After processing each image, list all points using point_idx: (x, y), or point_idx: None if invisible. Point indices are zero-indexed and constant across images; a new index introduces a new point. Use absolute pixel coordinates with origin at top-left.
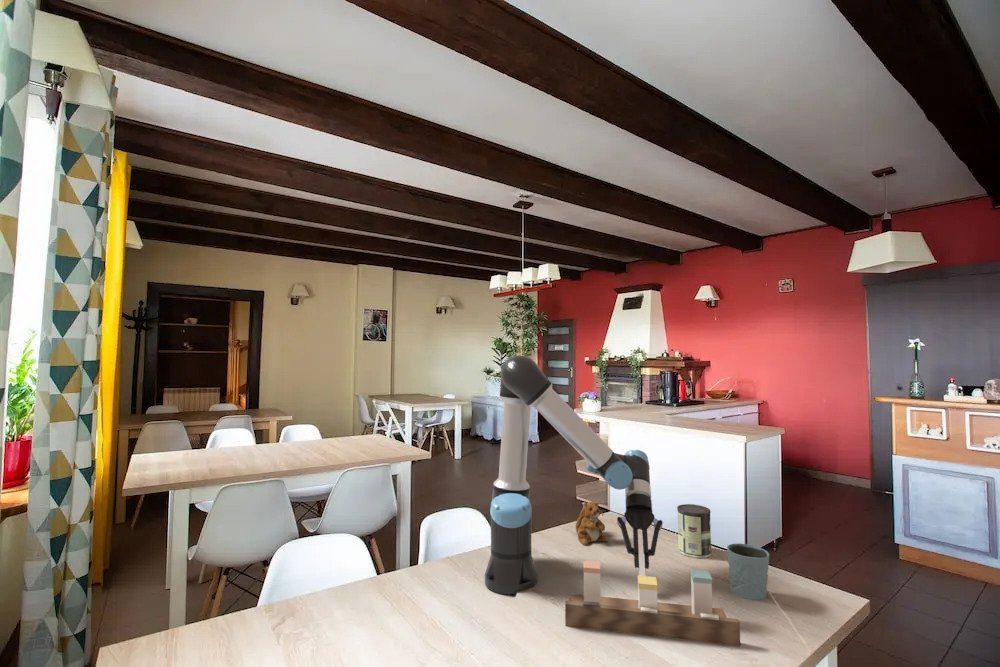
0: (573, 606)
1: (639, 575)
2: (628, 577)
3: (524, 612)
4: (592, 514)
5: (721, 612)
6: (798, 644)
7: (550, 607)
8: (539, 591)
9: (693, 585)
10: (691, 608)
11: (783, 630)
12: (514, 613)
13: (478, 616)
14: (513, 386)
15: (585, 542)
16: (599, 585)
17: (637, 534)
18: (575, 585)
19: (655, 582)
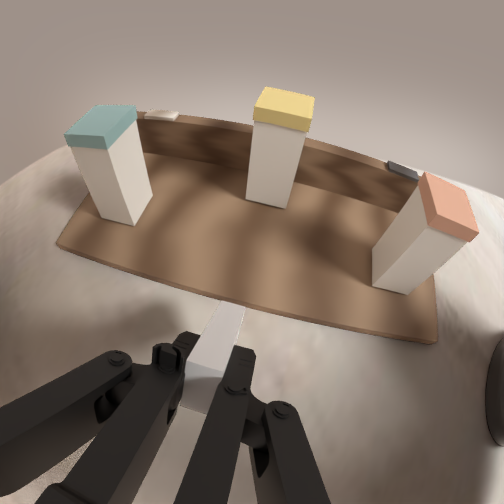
0: None
1: (239, 330)
2: (229, 494)
3: (482, 277)
4: None
5: (70, 228)
6: (43, 166)
7: (456, 295)
8: (480, 363)
9: (133, 133)
10: (120, 248)
11: (26, 194)
12: (490, 274)
13: None
14: None
15: None
16: (403, 209)
17: (184, 488)
18: (418, 416)
19: (266, 92)
